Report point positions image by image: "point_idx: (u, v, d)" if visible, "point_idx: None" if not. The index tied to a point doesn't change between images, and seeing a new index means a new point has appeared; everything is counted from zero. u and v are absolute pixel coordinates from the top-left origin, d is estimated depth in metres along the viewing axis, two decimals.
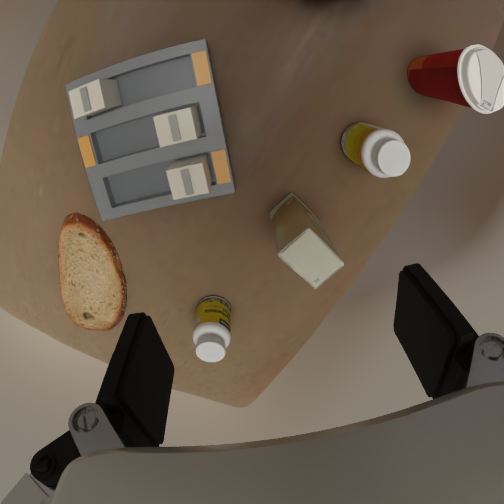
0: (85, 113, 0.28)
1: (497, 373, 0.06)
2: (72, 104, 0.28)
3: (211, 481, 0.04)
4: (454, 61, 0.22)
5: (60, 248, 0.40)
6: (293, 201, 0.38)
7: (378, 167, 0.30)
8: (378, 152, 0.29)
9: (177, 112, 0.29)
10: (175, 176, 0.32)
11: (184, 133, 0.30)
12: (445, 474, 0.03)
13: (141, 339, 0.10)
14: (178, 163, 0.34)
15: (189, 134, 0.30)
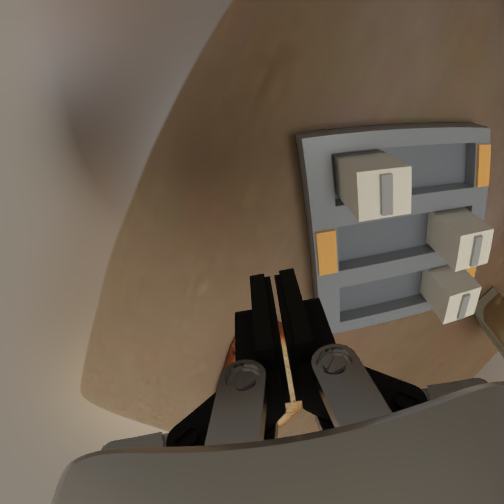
0: (379, 216, 0.20)
1: (325, 388, 0.07)
2: (361, 198, 0.19)
3: (211, 481, 0.04)
4: None
5: None
6: None
7: None
8: None
9: (482, 233, 0.21)
10: (455, 301, 0.24)
11: (480, 257, 0.22)
12: (445, 474, 0.03)
13: None
14: (444, 278, 0.26)
15: (483, 258, 0.22)
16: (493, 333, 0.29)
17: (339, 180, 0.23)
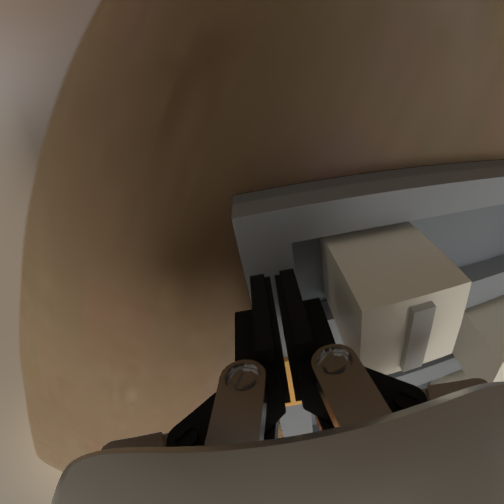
0: (397, 369, 0.10)
1: (325, 388, 0.07)
2: (366, 350, 0.09)
3: (211, 481, 0.04)
4: None
5: None
6: None
7: None
8: None
9: None
10: None
11: None
12: (445, 474, 0.03)
13: None
14: None
15: None
16: None
17: (329, 282, 0.13)
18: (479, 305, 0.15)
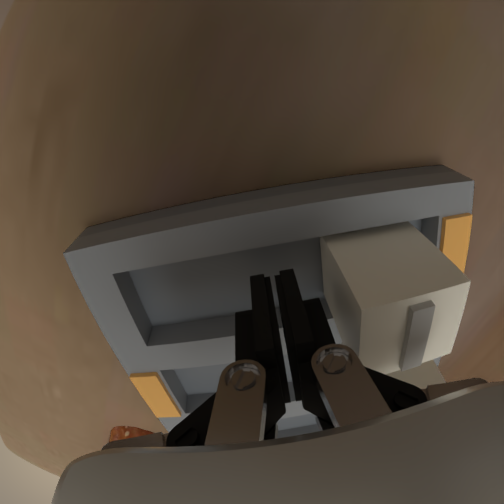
0: (396, 368, 0.10)
1: (325, 387, 0.07)
2: (365, 350, 0.09)
3: (211, 481, 0.04)
4: None
5: None
6: None
7: None
8: None
9: None
10: None
11: None
12: (445, 474, 0.03)
13: None
14: None
15: None
16: None
17: (329, 281, 0.13)
18: None
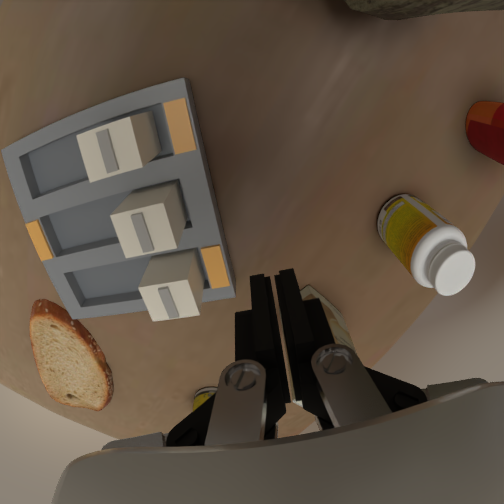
0: (108, 174, 0.19)
1: (325, 388, 0.07)
2: (85, 159, 0.18)
3: (211, 481, 0.04)
4: None
5: (32, 338, 0.31)
6: None
7: (433, 285, 0.21)
8: (437, 269, 0.20)
9: (144, 209, 0.20)
10: (152, 294, 0.23)
11: (158, 240, 0.21)
12: (445, 474, 0.03)
13: None
14: (156, 267, 0.25)
15: (166, 242, 0.21)
16: (285, 346, 0.28)
17: None
18: (143, 191, 0.24)
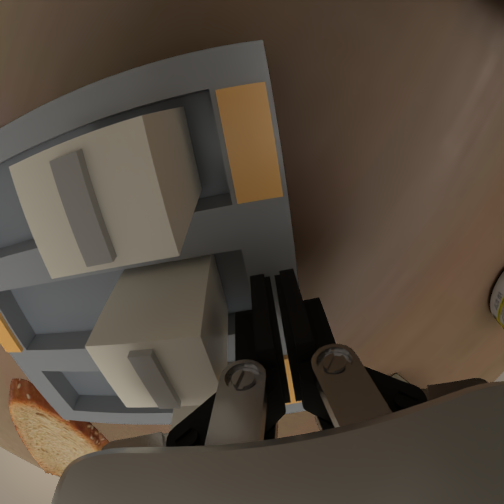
0: (91, 266, 0.08)
1: (325, 388, 0.07)
2: (34, 225, 0.07)
3: (211, 481, 0.04)
4: None
5: (15, 421, 0.20)
6: None
7: None
8: None
9: (157, 345, 0.09)
10: None
11: (188, 392, 0.10)
12: (445, 474, 0.03)
13: None
14: None
15: (205, 395, 0.10)
16: None
17: None
18: (147, 271, 0.13)
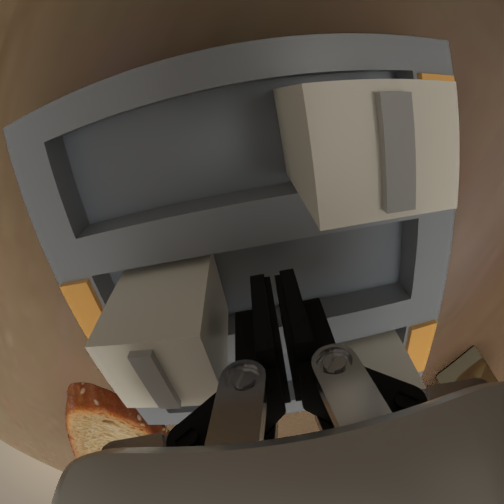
0: (379, 215, 0.07)
1: (325, 388, 0.07)
2: (322, 161, 0.07)
3: (211, 481, 0.04)
4: None
5: (71, 431, 0.20)
6: (489, 375, 0.17)
7: None
8: None
9: (157, 345, 0.09)
10: None
11: (188, 392, 0.10)
12: (445, 474, 0.03)
13: None
14: None
15: (205, 395, 0.10)
16: None
17: (285, 138, 0.10)
18: (147, 271, 0.13)
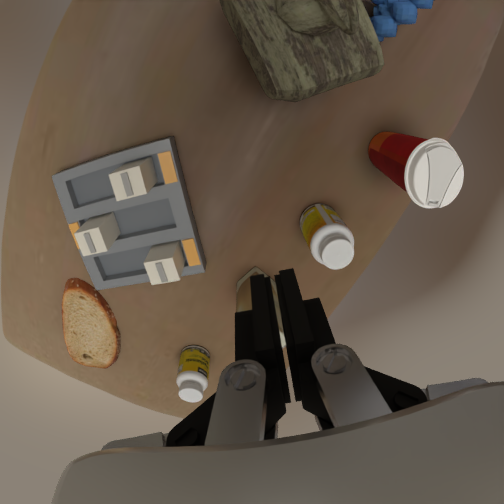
0: (127, 197, 0.35)
1: (325, 388, 0.07)
2: (114, 188, 0.34)
3: (211, 481, 0.04)
4: (405, 159, 0.29)
5: (63, 306, 0.47)
6: None
7: (323, 262, 0.36)
8: (322, 251, 0.35)
9: (90, 230, 0.36)
10: (151, 267, 0.39)
11: (97, 246, 0.37)
12: (445, 474, 0.03)
13: None
14: (154, 252, 0.41)
15: (101, 247, 0.37)
16: (236, 304, 0.44)
17: None
18: (94, 218, 0.40)
